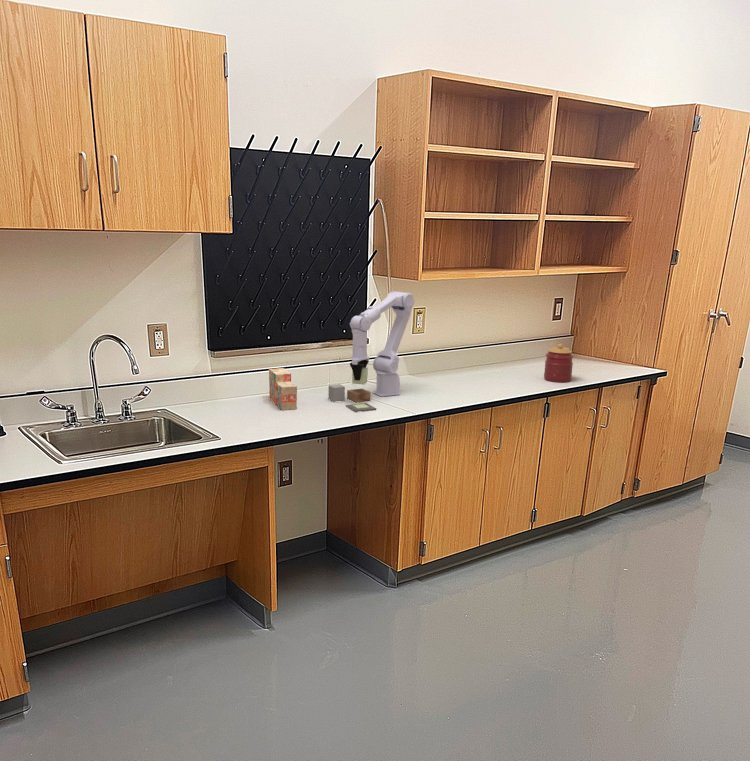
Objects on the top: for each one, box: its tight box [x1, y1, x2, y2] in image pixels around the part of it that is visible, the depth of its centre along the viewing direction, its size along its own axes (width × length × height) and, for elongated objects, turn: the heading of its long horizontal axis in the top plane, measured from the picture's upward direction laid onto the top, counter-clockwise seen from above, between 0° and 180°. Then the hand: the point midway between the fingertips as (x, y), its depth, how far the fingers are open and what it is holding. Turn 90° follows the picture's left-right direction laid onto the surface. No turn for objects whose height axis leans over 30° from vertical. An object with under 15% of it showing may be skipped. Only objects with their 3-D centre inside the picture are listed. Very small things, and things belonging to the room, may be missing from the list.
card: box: [345, 402, 377, 413], centre depth 265 cm, size 9×9×1 cm
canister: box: [543, 343, 574, 383], centre depth 323 cm, size 13×13×18 cm
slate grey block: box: [328, 383, 346, 403], centre depth 276 cm, size 5×5×6 cm
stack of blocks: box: [268, 367, 298, 411], centre depth 268 cm, size 21×6×12 cm, turn 21°
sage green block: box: [351, 367, 369, 386], centre depth 275 cm, size 5×5×6 cm
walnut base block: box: [346, 388, 372, 404], centre depth 277 cm, size 7×7×4 cm
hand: (359, 378), depth 275 cm, fingers closed on sage green block, 5 cm apart
